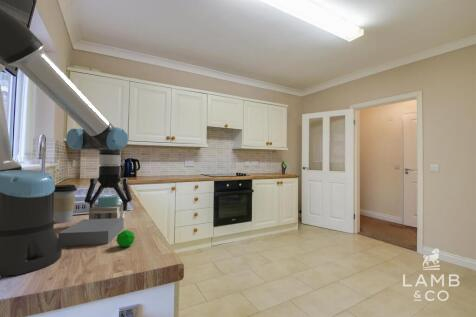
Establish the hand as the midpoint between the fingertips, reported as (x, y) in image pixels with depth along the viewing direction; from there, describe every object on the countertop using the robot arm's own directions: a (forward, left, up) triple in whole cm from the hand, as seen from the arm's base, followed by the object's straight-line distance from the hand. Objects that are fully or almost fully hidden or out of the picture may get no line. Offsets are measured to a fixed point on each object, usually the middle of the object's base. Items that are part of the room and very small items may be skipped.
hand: (108, 219), depth 96 cm
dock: (-17, -1, -2) cm, 17 cm away
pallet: (0, 0, 0) cm, 0 cm away
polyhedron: (-28, -14, -2) cm, 31 cm away
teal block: (0, 0, +6) cm, 6 cm away
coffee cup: (+6, +20, -2) cm, 21 cm away
